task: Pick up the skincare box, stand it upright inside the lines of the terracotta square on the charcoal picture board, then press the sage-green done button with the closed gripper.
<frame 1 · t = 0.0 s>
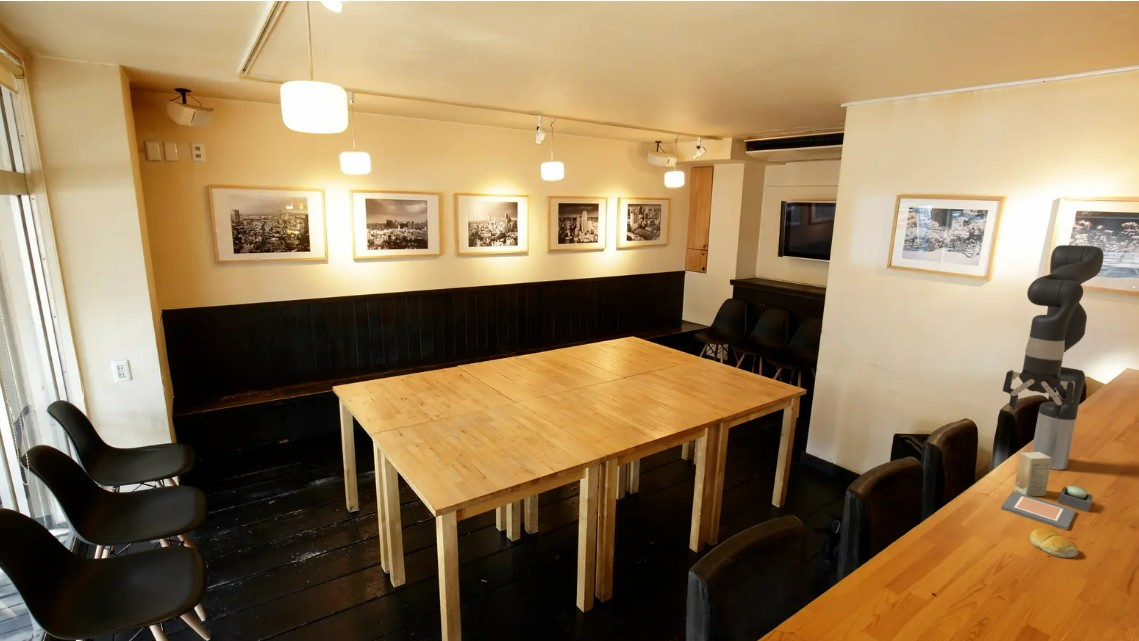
hand: (1033, 412, 146), 29 cm above the table, tool pointing down, fingers open, 8 cm apart
skincare box: (1029, 493, 162), on the table
button housing: (1074, 503, 156), on the table
picture board: (1038, 510, 152), on the table
bread roll: (1052, 549, 136), on the table
done button: (1076, 491, 155), point 4 cm above the table, slide at 0.0 cm
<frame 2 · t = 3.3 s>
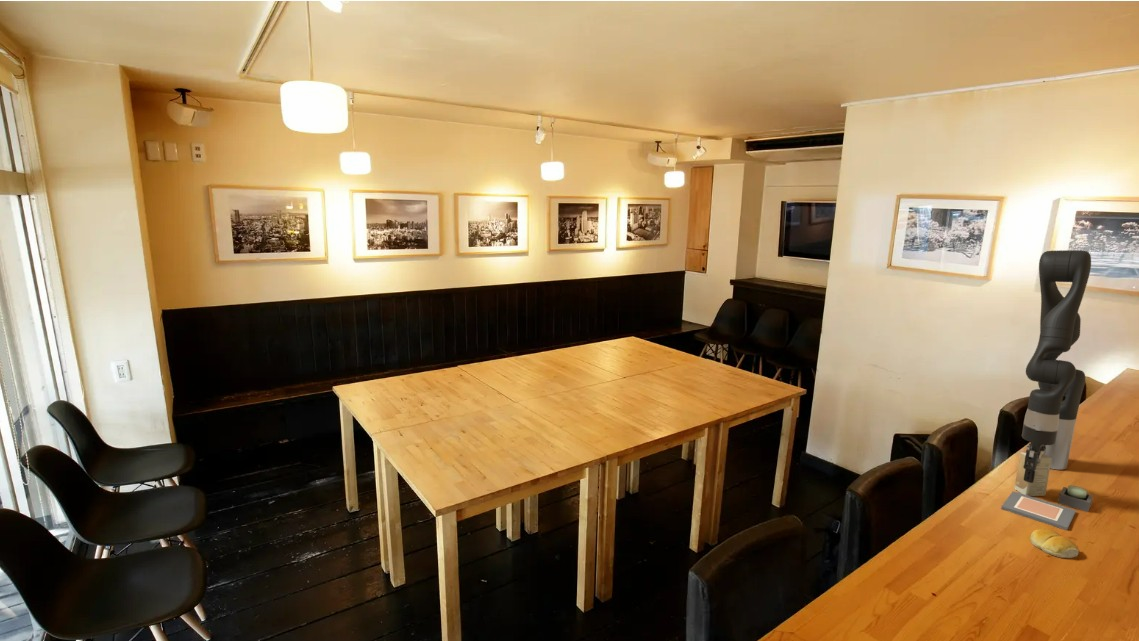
hand: (1031, 477, 161), 5 cm above the table, tool pointing down, fingers closed on skincare box, 7 cm apart
skincare box: (1029, 493, 162), on the table, touching gripper
everything else where it was.
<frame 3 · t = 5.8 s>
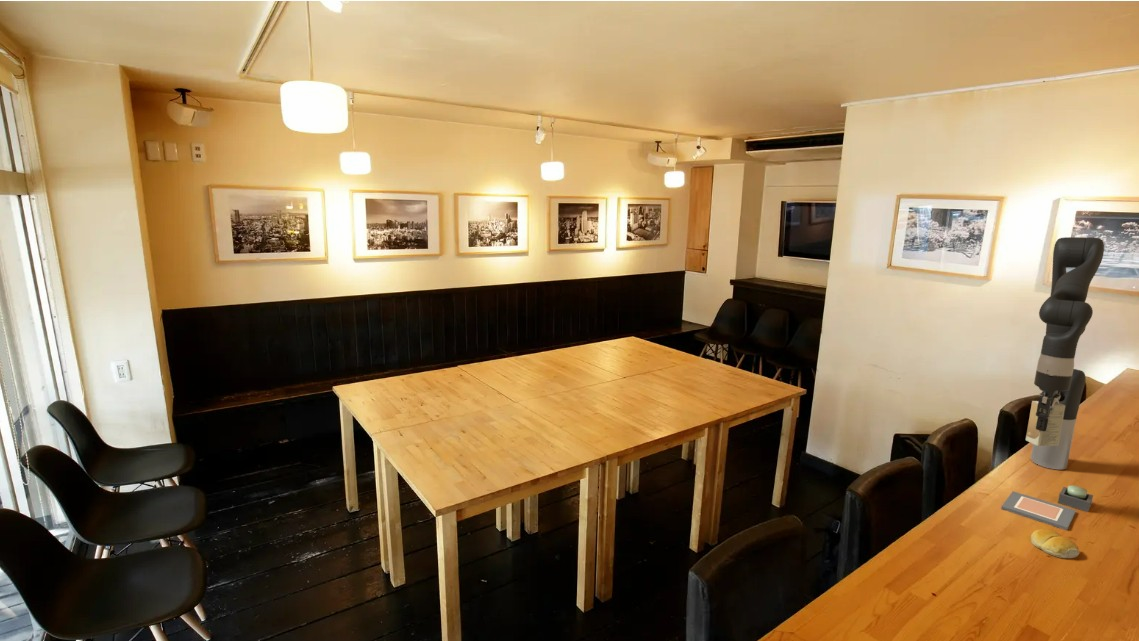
hand: (1043, 426, 154), 23 cm above the table, tool pointing down, fingers closed on skincare box, 7 cm apart
skincare box: (1041, 444, 155), point 17 cm above the table, touching gripper
everything else where it was.
when the fingers open (7 cm above the table, at t = 8.6 s): skincare box drops 1 cm, resting on picture board.
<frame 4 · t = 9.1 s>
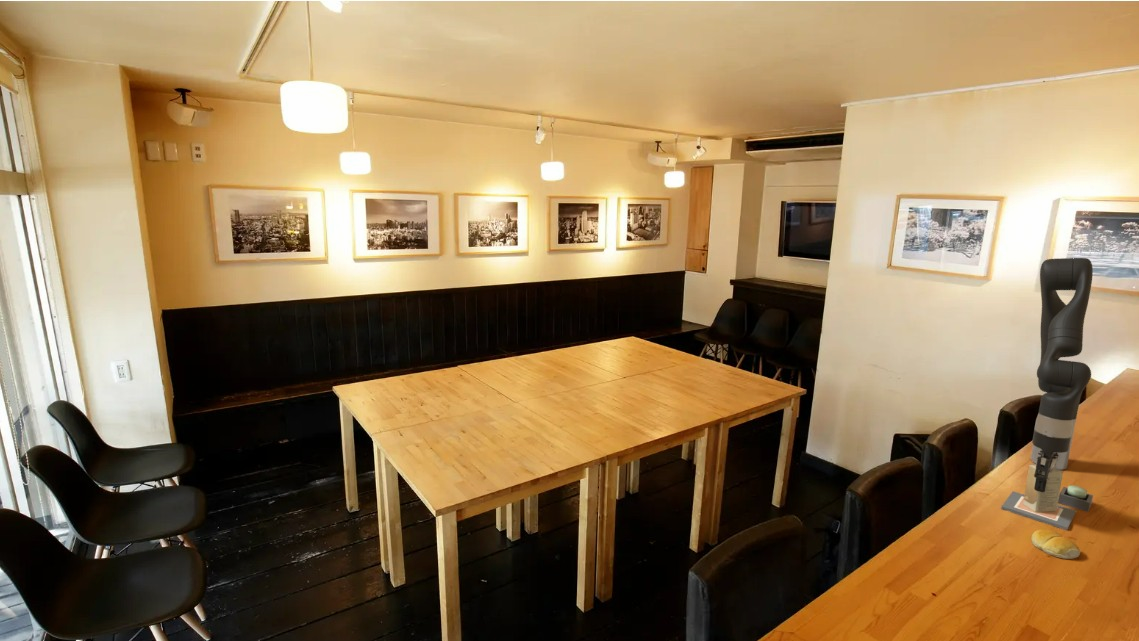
hand: (1042, 486, 151), 8 cm above the table, tool pointing down, fingers open, 8 cm apart
skincare box: (1038, 508, 152), point 1 cm above the table, touching picture board
everything else where it was.
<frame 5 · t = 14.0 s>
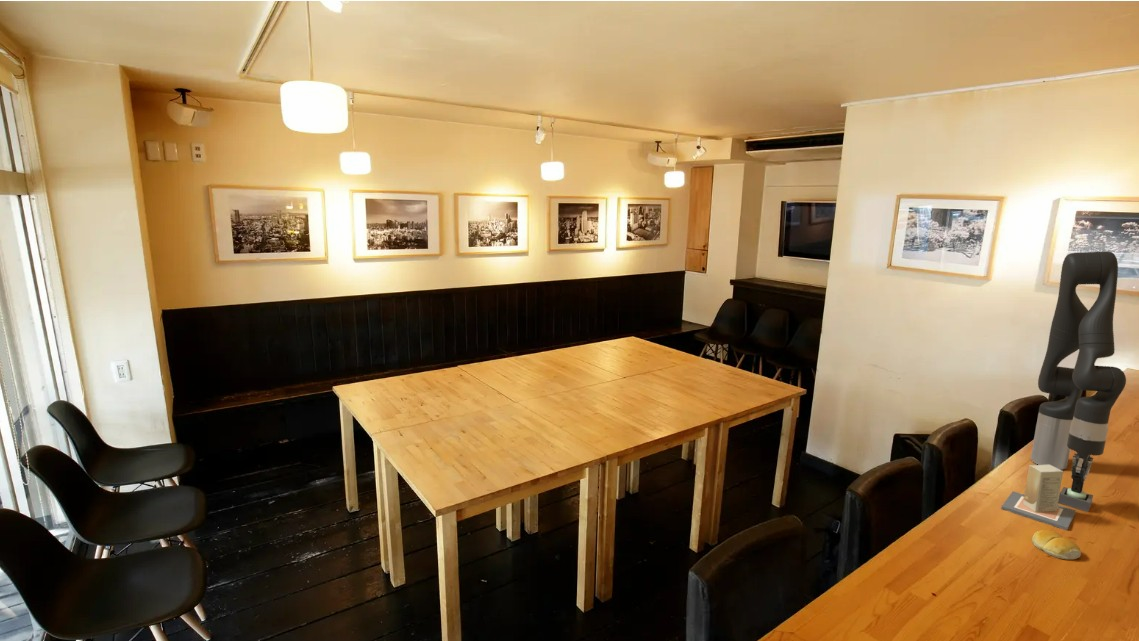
hand: (1076, 491, 155), 4 cm above the table, tool pointing down, fingers closed
done button: (1076, 494, 155), point 3 cm above the table, slide at 0.8 cm, touching gripper
everything else where it was.
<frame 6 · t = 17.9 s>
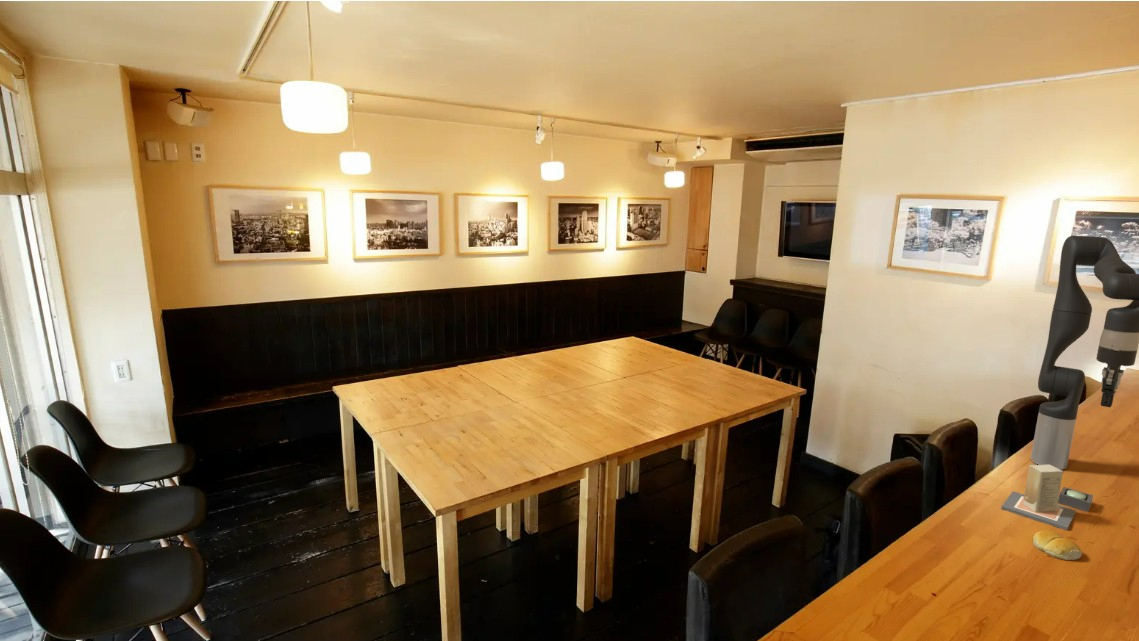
hand: (1105, 406, 152), 29 cm above the table, tool pointing down, fingers closed
done button: (1076, 496, 155), point 2 cm above the table, slide at 1.5 cm
everything else where it was.
at the end: skincare box 0.1 cm off-centre on the picture board, point 0.8 cm above the picture board's base; skincare box tilted 0°; done button slide at 1.5 cm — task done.
